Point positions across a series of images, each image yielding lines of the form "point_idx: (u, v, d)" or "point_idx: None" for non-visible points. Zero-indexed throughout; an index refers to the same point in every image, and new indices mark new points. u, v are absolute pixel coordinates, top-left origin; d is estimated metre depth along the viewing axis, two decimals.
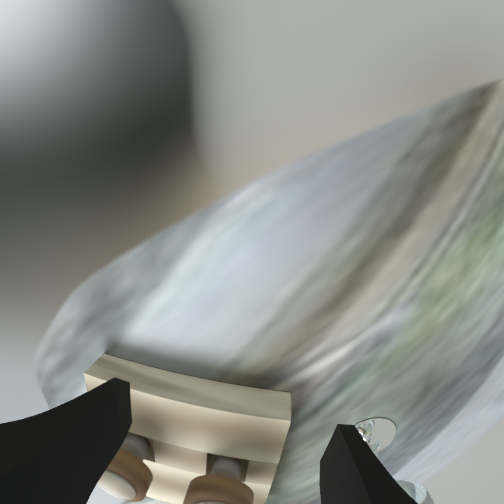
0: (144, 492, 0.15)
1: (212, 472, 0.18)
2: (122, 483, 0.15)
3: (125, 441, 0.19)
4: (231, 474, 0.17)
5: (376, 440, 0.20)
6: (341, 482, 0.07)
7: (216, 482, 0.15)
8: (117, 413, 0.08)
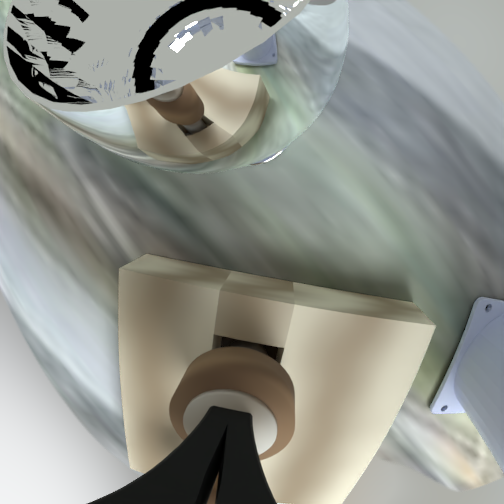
0: (213, 501, 0.10)
1: None
2: None
3: None
4: None
5: None
6: (220, 468, 0.07)
7: None
8: (223, 443, 0.08)
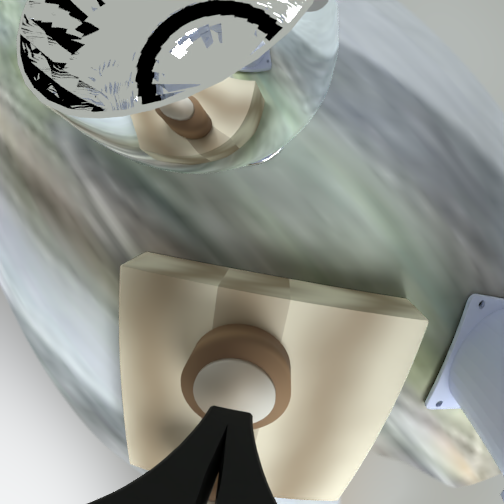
0: (212, 493, 0.11)
1: None
2: None
3: None
4: None
5: None
6: (220, 468, 0.07)
7: None
8: (223, 443, 0.08)
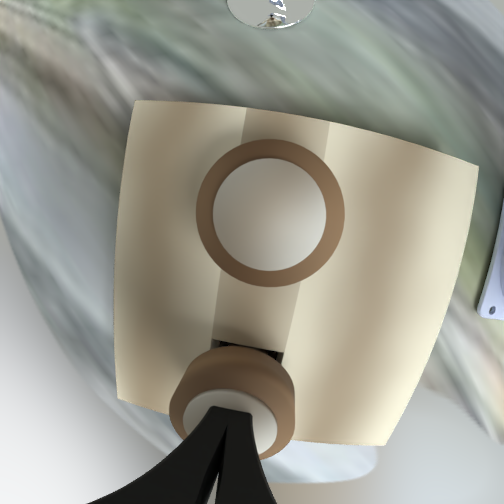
0: (236, 374, 0.09)
1: None
2: (202, 405, 0.09)
3: None
4: None
5: None
6: (220, 468, 0.07)
7: None
8: (223, 443, 0.08)
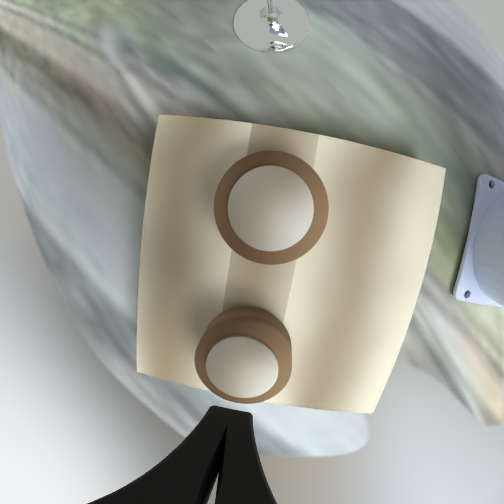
0: (248, 323, 0.13)
1: None
2: (222, 349, 0.13)
3: None
4: None
5: (262, 10, 0.14)
6: (220, 468, 0.07)
7: None
8: (223, 443, 0.08)
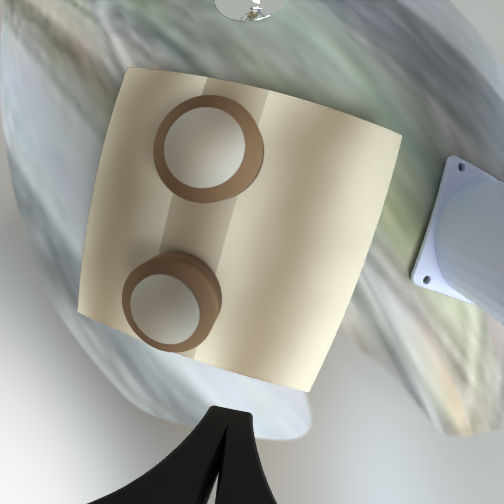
0: (173, 262, 0.13)
1: None
2: (146, 286, 0.13)
3: None
4: None
5: None
6: (220, 468, 0.07)
7: None
8: (223, 443, 0.08)
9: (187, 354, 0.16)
